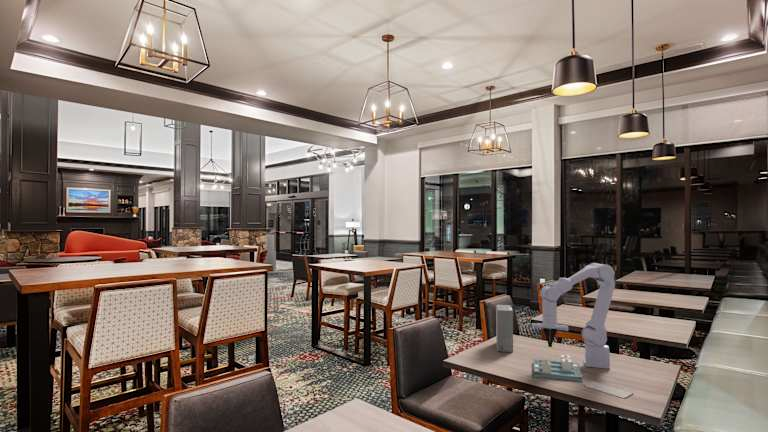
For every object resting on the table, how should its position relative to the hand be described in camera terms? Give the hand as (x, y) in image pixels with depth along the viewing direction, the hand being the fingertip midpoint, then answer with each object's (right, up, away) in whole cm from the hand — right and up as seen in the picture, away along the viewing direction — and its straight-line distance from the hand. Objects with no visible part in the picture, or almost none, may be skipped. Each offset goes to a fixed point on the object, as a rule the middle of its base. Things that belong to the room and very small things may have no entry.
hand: (550, 346), depth 179 cm
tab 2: (+6, -8, -2) cm, 10 cm away
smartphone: (+11, -9, -25) cm, 29 cm away
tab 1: (-5, -8, -10) cm, 14 cm away
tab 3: (+4, -8, -7) cm, 11 cm away
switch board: (0, -9, -6) cm, 11 cm away
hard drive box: (-12, -10, +28) cm, 32 cm away
